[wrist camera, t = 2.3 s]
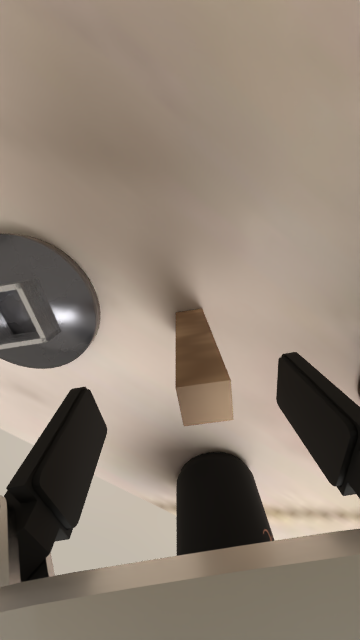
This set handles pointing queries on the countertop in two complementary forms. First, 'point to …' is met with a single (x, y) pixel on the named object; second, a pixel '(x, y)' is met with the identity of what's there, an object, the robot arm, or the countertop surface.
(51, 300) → the round metal socket base
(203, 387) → the tan wooden beam
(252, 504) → the coffee jar
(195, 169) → the countertop surface
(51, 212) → the countertop surface
